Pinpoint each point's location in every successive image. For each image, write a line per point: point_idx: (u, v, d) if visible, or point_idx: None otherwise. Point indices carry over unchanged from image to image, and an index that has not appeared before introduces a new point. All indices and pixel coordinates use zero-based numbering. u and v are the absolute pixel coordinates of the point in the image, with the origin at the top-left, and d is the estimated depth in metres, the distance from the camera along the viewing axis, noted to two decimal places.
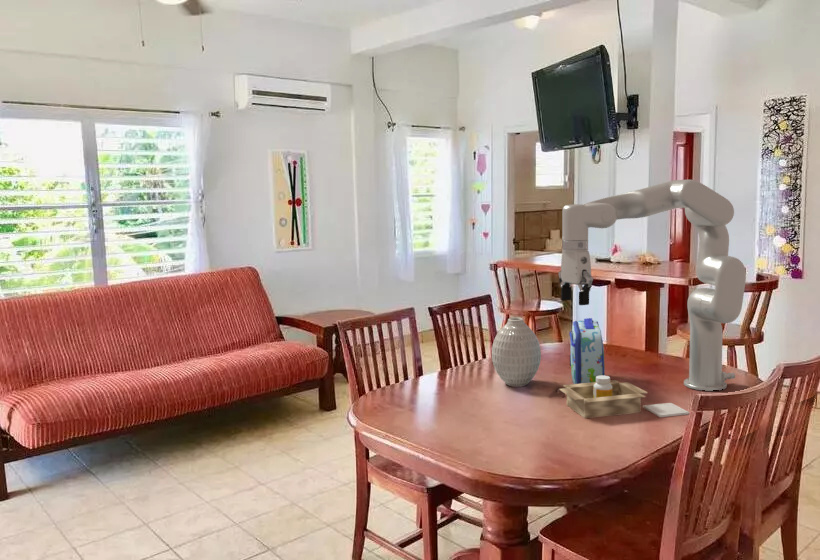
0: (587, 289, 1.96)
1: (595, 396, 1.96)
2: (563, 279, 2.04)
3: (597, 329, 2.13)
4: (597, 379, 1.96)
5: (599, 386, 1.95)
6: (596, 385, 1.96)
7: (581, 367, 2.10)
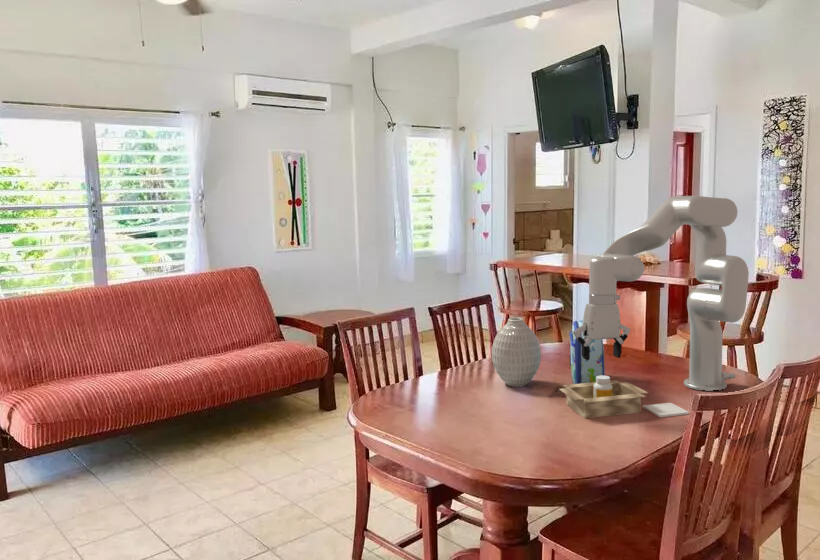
0: None
1: (595, 396, 1.96)
2: (595, 337, 1.92)
3: None
4: (597, 379, 1.96)
5: (599, 386, 1.95)
6: (596, 385, 1.96)
7: (581, 367, 2.10)
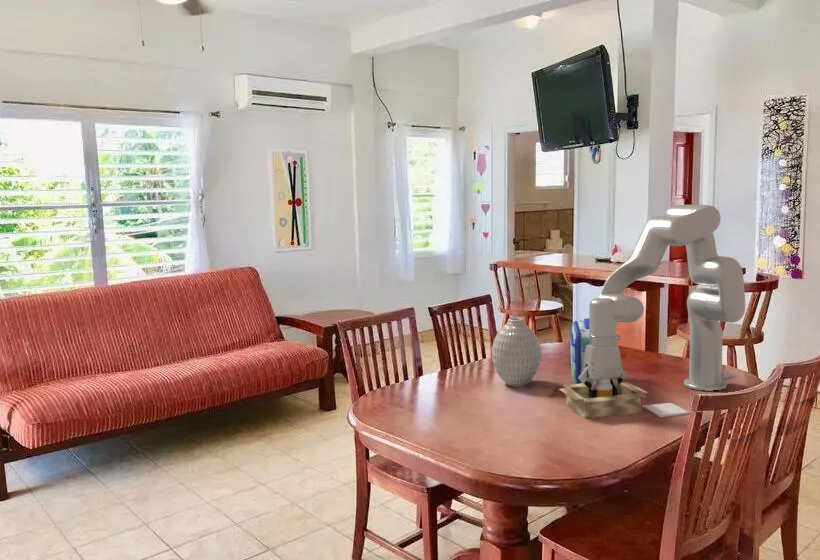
0: None
1: None
2: (596, 378, 1.94)
3: None
4: None
5: (599, 386, 1.95)
6: (596, 385, 1.96)
7: (581, 367, 2.10)
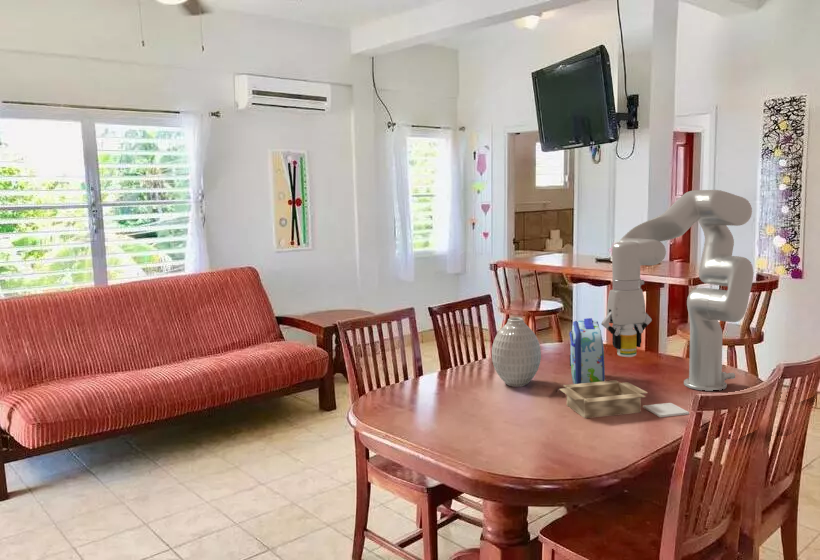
0: None
1: None
2: (620, 323, 1.90)
3: (597, 329, 2.13)
4: None
5: (623, 331, 1.91)
6: (620, 331, 1.92)
7: (581, 367, 2.10)
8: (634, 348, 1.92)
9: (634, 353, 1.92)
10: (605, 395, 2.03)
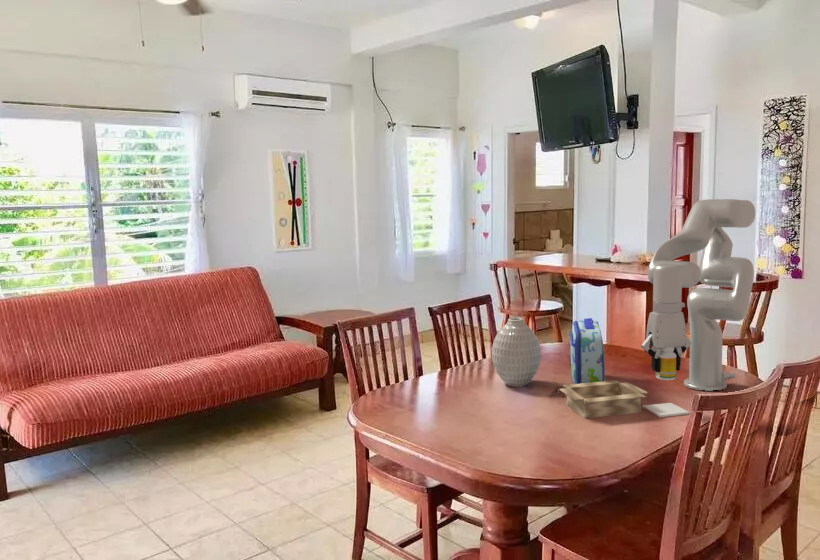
0: None
1: None
2: (660, 345, 1.88)
3: (597, 329, 2.13)
4: None
5: (663, 354, 1.89)
6: (660, 353, 1.90)
7: (581, 367, 2.10)
8: (674, 371, 1.90)
9: (674, 376, 1.90)
10: (605, 395, 2.03)
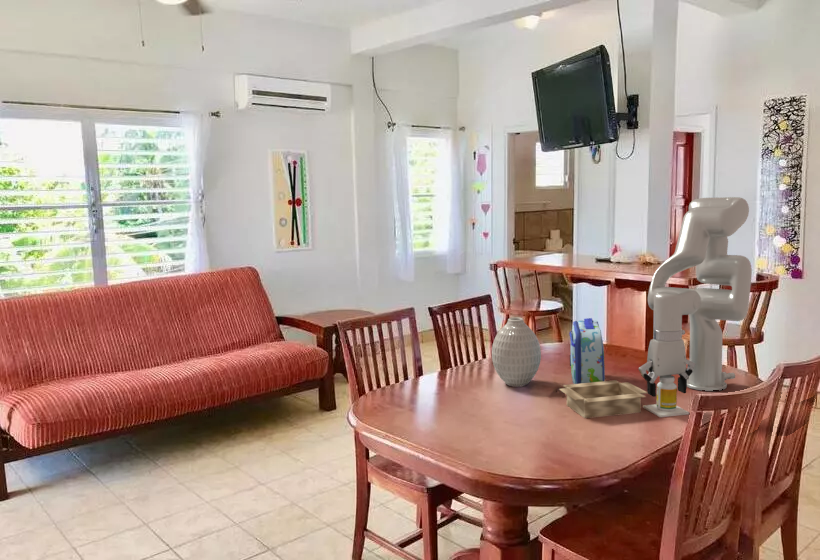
0: None
1: (659, 396, 1.92)
2: (661, 373, 1.90)
3: (597, 329, 2.13)
4: (661, 378, 1.92)
5: (664, 385, 1.91)
6: (660, 384, 1.92)
7: (581, 367, 2.10)
8: (674, 402, 1.91)
9: (674, 407, 1.91)
10: (605, 395, 2.03)
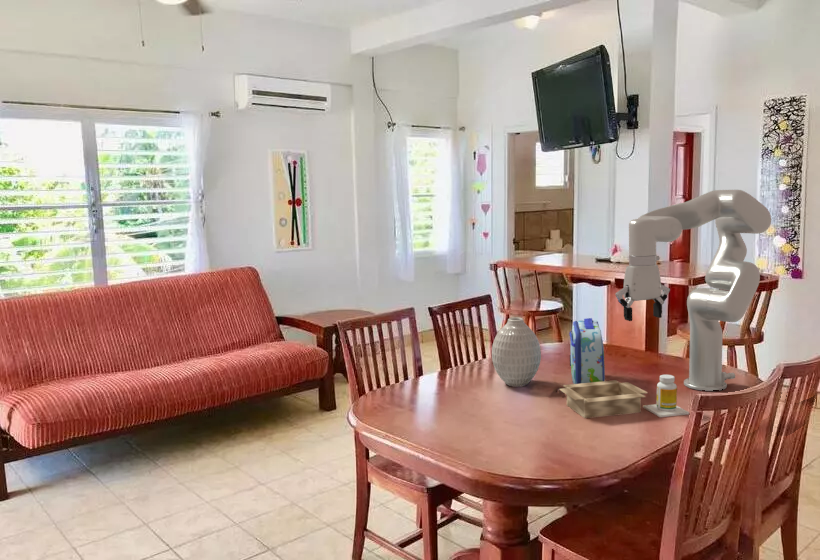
0: None
1: (659, 396, 1.92)
2: (637, 298, 1.95)
3: (597, 329, 2.13)
4: (661, 378, 1.92)
5: (664, 385, 1.91)
6: (660, 384, 1.92)
7: (581, 367, 2.10)
8: (674, 402, 1.91)
9: (674, 407, 1.91)
10: (605, 395, 2.03)
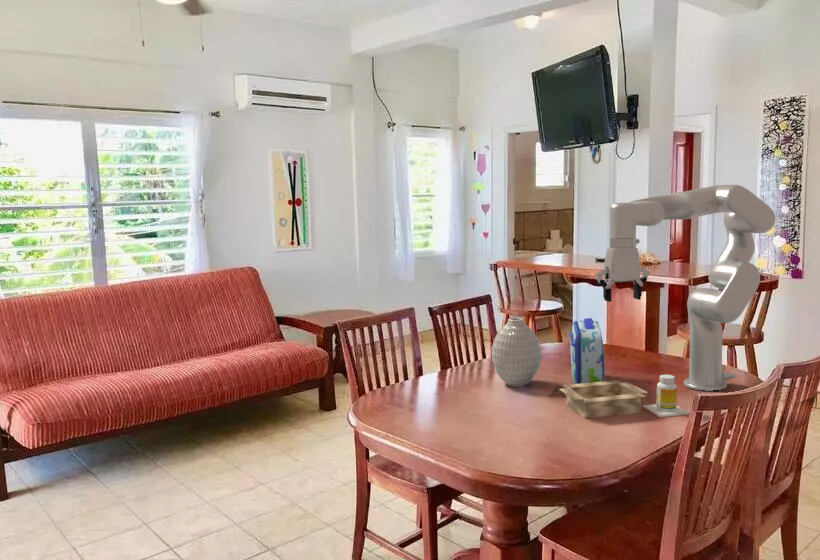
0: None
1: (659, 396, 1.92)
2: (616, 279, 2.01)
3: (597, 329, 2.13)
4: (661, 378, 1.92)
5: (664, 385, 1.91)
6: (660, 384, 1.92)
7: (581, 367, 2.10)
8: (674, 402, 1.91)
9: (674, 407, 1.91)
10: (605, 395, 2.03)
